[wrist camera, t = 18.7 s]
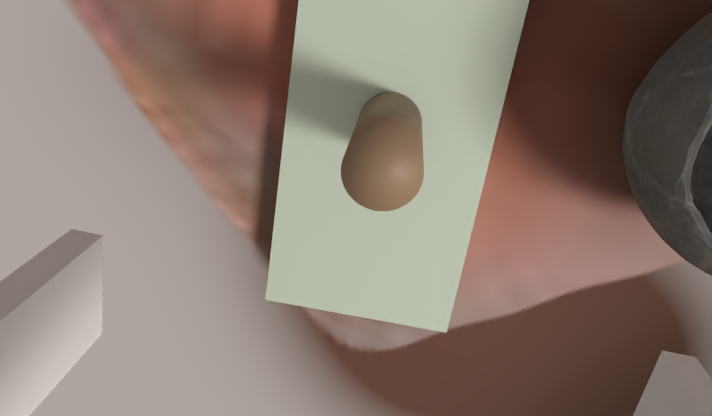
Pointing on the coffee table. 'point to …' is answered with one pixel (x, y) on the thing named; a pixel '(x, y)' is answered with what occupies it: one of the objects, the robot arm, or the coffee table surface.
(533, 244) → the coffee table surface
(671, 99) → the bowl
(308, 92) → the lid
